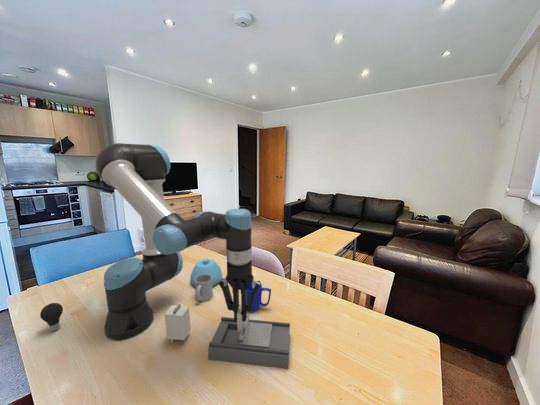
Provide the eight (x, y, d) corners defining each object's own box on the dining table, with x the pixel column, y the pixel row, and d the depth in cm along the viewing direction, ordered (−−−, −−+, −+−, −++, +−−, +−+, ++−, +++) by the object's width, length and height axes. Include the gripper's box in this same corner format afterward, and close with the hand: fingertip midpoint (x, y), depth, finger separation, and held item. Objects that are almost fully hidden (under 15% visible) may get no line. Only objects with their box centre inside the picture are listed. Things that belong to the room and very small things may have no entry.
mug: (268, 316, 87) (268, 293, 85) (238, 312, 89) (238, 289, 87) (272, 303, 95) (272, 282, 93) (245, 300, 97) (244, 278, 95)
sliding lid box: (208, 359, 68) (208, 345, 67) (222, 328, 81) (222, 315, 80) (288, 368, 65) (288, 354, 64) (289, 334, 78) (289, 322, 77)
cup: (215, 293, 102) (214, 274, 100) (205, 307, 92) (205, 287, 90) (200, 291, 103) (199, 273, 101) (189, 305, 93) (188, 285, 91)
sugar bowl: (228, 279, 114) (227, 257, 112) (205, 293, 101) (204, 269, 99) (207, 271, 122) (206, 250, 120) (184, 283, 109) (182, 261, 107)
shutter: (239, 346, 68) (239, 336, 67) (246, 323, 77) (246, 314, 77) (268, 349, 67) (269, 339, 66) (272, 326, 76) (272, 317, 76)
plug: (167, 342, 74) (164, 311, 72) (174, 332, 78) (171, 302, 76) (184, 344, 73) (182, 313, 71) (190, 334, 78) (188, 304, 76)
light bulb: (41, 338, 75) (35, 311, 73) (47, 327, 80) (42, 302, 78) (62, 332, 78) (58, 306, 76) (68, 322, 83) (63, 297, 81)
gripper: (214, 264, 65) (217, 335, 69) (258, 267, 63) (258, 340, 68) (222, 254, 72) (224, 319, 77) (262, 256, 71) (262, 322, 75)
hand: (240, 328), depth 72 cm, fingers closed
